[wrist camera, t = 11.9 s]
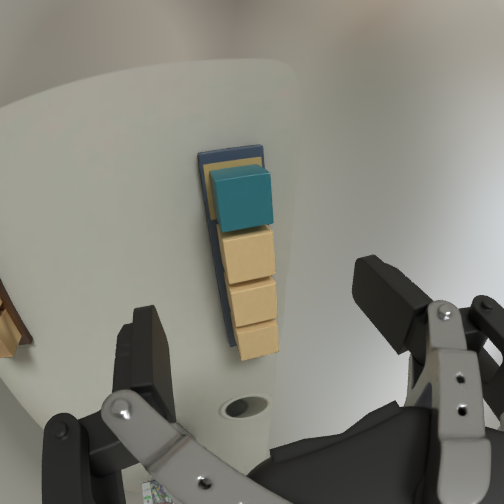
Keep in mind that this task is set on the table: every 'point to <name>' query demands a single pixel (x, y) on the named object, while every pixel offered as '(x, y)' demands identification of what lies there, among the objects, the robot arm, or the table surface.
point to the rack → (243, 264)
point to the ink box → (155, 493)
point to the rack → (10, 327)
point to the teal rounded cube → (242, 197)
